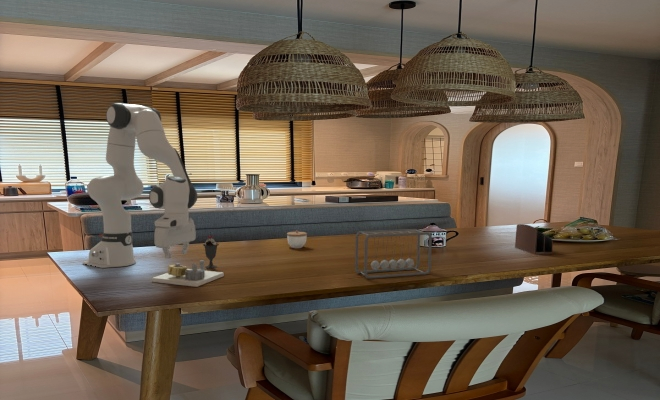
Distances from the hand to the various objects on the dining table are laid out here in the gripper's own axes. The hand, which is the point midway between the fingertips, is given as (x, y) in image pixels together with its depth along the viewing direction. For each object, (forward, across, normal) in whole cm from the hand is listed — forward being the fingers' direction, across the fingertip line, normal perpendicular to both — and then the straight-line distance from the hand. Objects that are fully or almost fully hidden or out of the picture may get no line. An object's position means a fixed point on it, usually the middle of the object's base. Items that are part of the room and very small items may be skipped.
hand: (176, 255), depth 185 cm
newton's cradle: (+8, -44, +75) cm, 87 cm away
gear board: (+10, -4, +3) cm, 11 cm away
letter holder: (+7, -126, +132) cm, 182 cm away
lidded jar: (+10, -85, +12) cm, 87 cm away
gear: (+7, +1, +1) cm, 7 cm away
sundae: (+10, -25, -1) cm, 27 cm away
